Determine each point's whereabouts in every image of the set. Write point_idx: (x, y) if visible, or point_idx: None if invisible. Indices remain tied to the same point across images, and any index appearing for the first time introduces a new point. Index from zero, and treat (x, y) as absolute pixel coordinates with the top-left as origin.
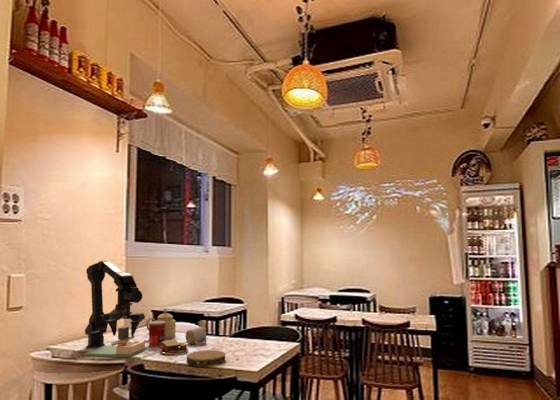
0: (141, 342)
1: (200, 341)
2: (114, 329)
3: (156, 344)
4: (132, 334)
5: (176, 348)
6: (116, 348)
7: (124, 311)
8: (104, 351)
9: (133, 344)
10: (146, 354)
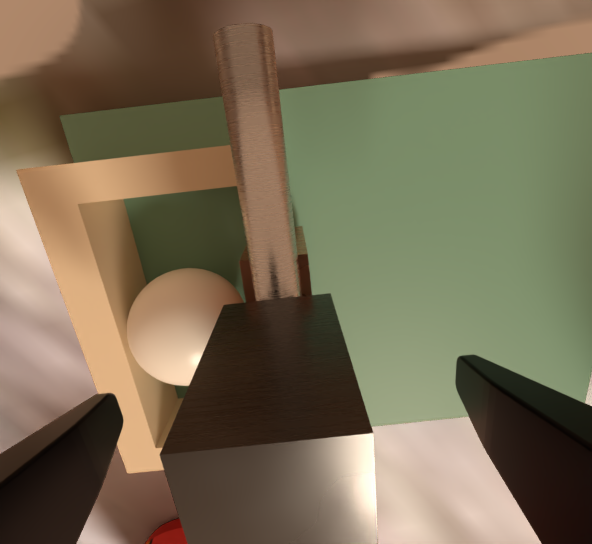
0: None
1: None
2: (537, 457)
3: (163, 532)
4: (70, 413)
5: None
6: None
7: None
8: (456, 195)
9: (127, 323)
10: (6, 280)
